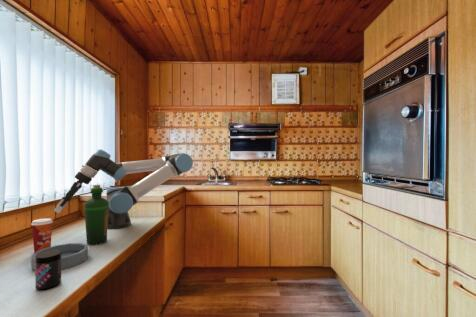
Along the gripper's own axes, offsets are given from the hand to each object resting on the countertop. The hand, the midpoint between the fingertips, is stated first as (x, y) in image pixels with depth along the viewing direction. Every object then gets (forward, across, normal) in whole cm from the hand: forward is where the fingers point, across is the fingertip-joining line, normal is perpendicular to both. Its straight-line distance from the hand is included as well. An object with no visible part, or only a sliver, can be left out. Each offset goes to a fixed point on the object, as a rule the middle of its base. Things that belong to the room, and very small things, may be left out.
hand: (57, 209), depth 126 cm
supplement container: (+12, +56, +11) cm, 58 cm away
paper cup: (+15, +17, +6) cm, 23 cm away
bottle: (+3, +16, +23) cm, 28 cm away
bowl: (+10, +35, +12) cm, 38 cm away
